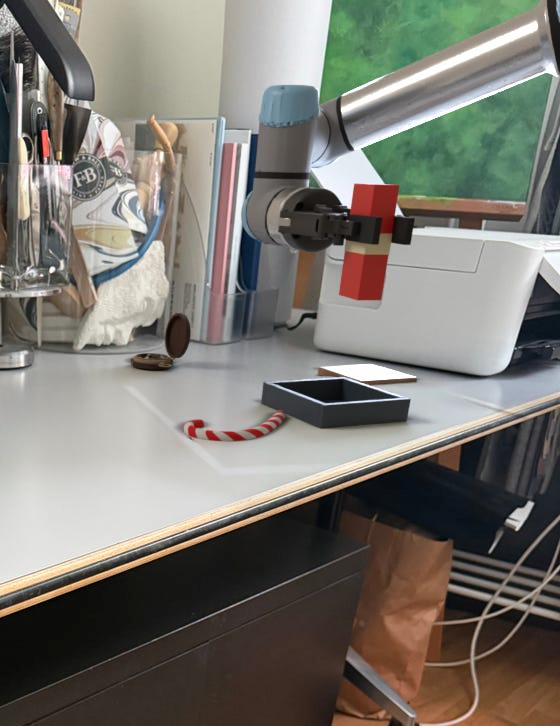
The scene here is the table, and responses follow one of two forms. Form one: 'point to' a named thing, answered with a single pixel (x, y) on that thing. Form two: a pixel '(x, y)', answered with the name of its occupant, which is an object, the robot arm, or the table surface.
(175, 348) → the compass
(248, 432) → the candy cane
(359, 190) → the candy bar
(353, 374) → the board
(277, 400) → the tray
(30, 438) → the table surface
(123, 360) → the table surface
